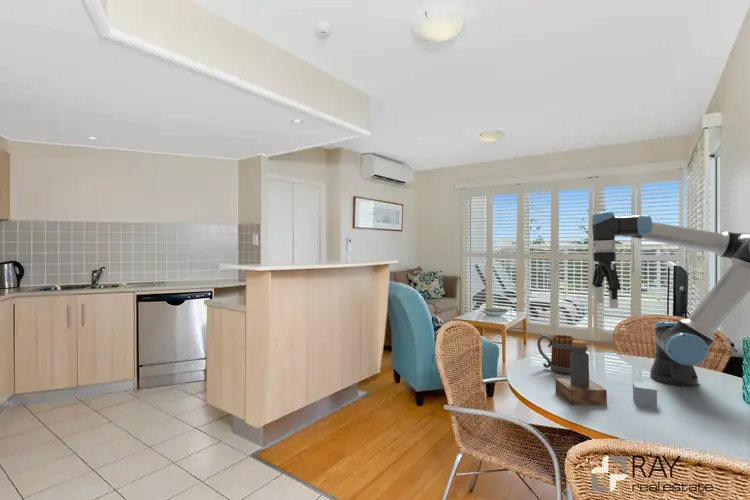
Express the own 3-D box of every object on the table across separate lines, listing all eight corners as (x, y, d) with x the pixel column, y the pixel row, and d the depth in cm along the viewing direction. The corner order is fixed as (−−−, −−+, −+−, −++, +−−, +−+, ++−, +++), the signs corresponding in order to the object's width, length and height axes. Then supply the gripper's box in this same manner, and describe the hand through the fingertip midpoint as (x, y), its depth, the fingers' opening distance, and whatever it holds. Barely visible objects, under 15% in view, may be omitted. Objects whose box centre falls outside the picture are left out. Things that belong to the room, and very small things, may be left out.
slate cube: (653, 401, 134) (653, 384, 134) (657, 408, 129) (656, 389, 129) (633, 398, 137) (632, 381, 137) (635, 405, 132) (635, 387, 132)
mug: (578, 370, 170) (578, 335, 170) (576, 377, 161) (575, 340, 161) (540, 365, 178) (539, 332, 178) (535, 371, 169) (535, 336, 169)
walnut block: (588, 391, 144) (588, 378, 144) (606, 404, 132) (606, 389, 132) (555, 392, 144) (555, 378, 144) (570, 404, 132) (570, 390, 132)
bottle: (591, 387, 135) (591, 343, 135) (573, 386, 136) (572, 343, 136) (586, 381, 140) (585, 339, 140) (568, 380, 142) (567, 339, 142)
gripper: (582, 251, 167) (584, 301, 167) (607, 251, 143) (609, 309, 142) (601, 251, 166) (603, 301, 166) (629, 251, 141) (631, 309, 141)
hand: (606, 305), depth 154 cm, fingers open, 13 cm apart
